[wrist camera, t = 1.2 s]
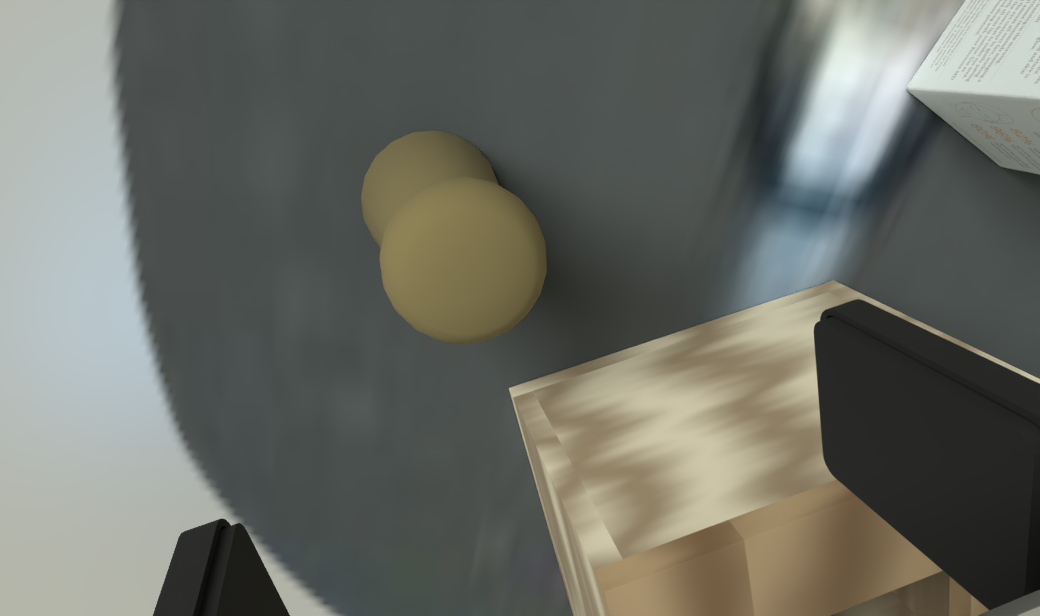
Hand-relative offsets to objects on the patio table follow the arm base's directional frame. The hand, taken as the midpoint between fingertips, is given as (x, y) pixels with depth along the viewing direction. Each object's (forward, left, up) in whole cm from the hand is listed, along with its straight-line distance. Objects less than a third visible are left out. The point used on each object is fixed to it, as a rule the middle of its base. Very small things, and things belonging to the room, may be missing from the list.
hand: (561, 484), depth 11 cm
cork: (0, 0, -21) cm, 21 cm away
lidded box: (-10, +19, -21) cm, 30 cm away
